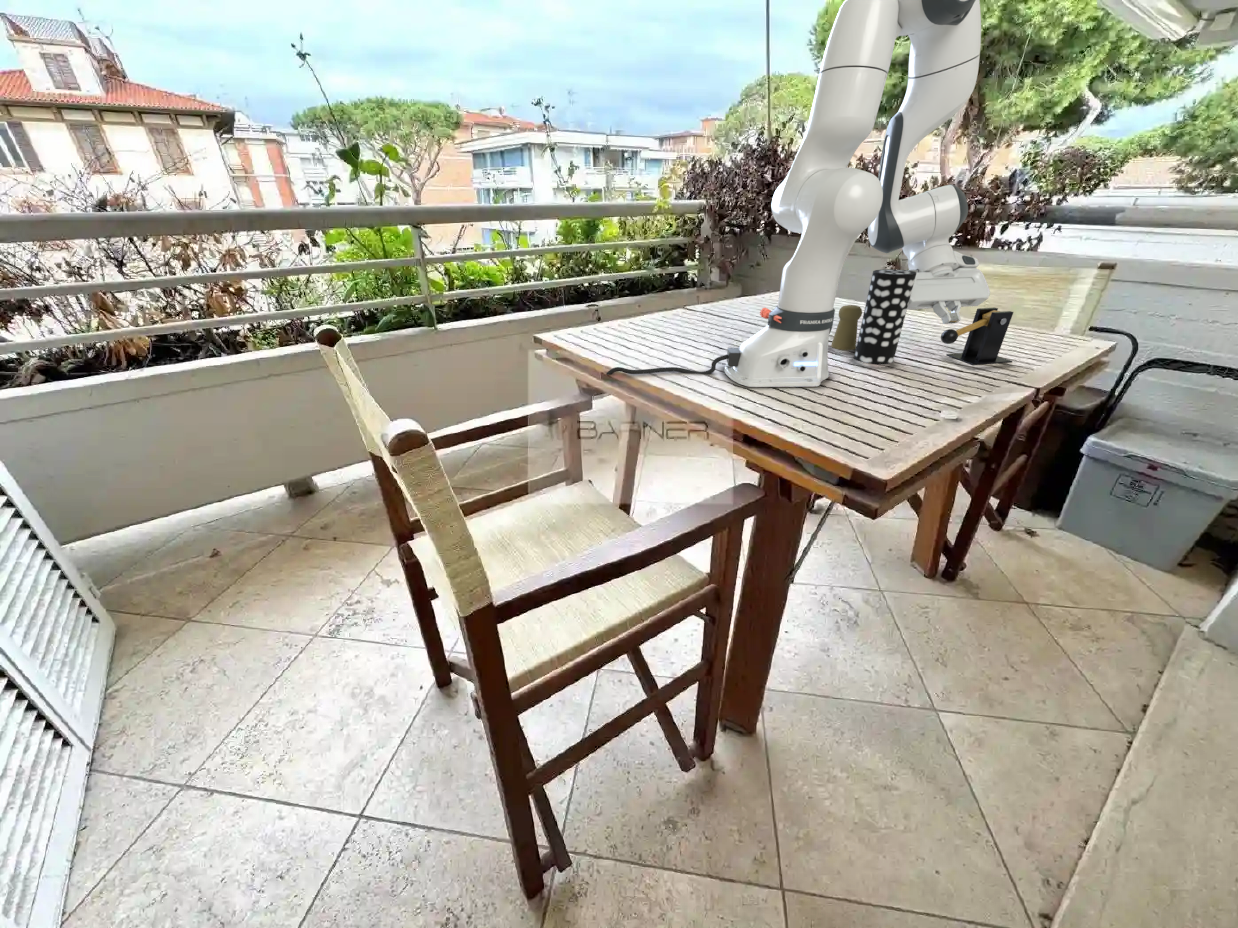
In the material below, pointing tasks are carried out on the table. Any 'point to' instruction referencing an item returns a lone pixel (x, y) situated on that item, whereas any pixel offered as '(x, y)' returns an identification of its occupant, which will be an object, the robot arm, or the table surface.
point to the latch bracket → (986, 339)
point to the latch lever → (964, 329)
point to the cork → (847, 328)
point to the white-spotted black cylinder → (884, 315)
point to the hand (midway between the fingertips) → (952, 322)
